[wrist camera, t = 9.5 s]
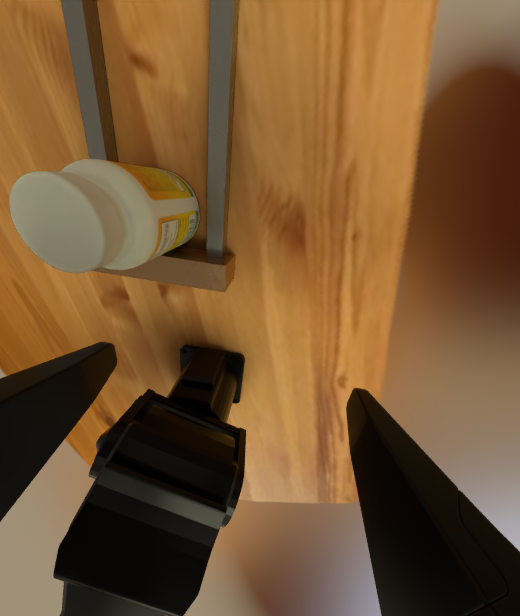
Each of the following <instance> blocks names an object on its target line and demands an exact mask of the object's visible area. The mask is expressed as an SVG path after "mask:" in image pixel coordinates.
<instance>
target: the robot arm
mask: <svg viewBox="0 0 520 616" xmlns="http://www.w3.org/2000/svg"><path fill="white" fill-rule="evenodd" d="M184 349H185V350H187V351H185V350H184ZM238 359H240V360H241V361H240V360H238ZM180 362H181V374H180V376H179V378H178V379H177V381H176V383H175V384H174V386H173V388H172V389H171V391H170V393H169V394H168V396H167V398H166V397H164V396H162V395H159V394H157V393H155V391H153V390H151V389H148V390H147V391H146V392H145V393H144V394H143V396H142V395H141V396H140V397H139V398H138V399H137V400H135V402H134V403H133V404H132V406H131V407H130V408H129V409H128V410H127V411H126V412H125V413H124V415H123V416H122V417H121V418H120V419H119V420H118V421H117V422H116V423H115V424H114V425H113V426H112V427H110V428H109V429H108V430H107V431H106V432H104V433H103V434H102V435H101V436H100V437H99V439H98V441H97V443H96V447H97V454H96V457H95V459H94V462H93V464H92V467H91V469H90V472H89V477H92V478H94V479H95V481H94V483H93V485H92V487H91V488H90V490H89V492H88V494H87V496H86V497H85V499H84V501H83V503H82V505H81V506H80V508H79V510H78V512H77V514H76V515H75V517H74V519H73V521H72V523H71V525H70V527H69V530H68V532H67V534H66V536H65V537H64V539H63V540H62V542H61V544H60V546H59V549H58V554H57V559H56V563H55V568H54V578H55V579H58V580H61V581H64V589H63V603H62V611H61V614H60V616H166V615H167V616H183V615H184V614H185V613H186V611H187V610H188V608H189V607H190V606H191V604H192V603H193V601H194V600H195V599H196V597H197V595H198V593H199V590H200V587H201V584H202V580H203V577H204V574H205V570H206V567H207V563H208V560H209V557H210V554H211V551H212V548H213V546H214V543H215V540H216V537H217V535H218V532H219V529H220V527H221V526H222V527H225V526H226V525H227V524H228V523H229V521H230V519H231V517H232V515H233V512H234V510H235V508H236V505H237V502H238V499H239V496H240V492H241V488H242V484H243V478H244V469H245V445H246V430H245V429H242V428H237V427H235V426H232V425H230V424H228V423H227V420H228V416H229V413H230V409H231V406H232V403H239V401H240V397H241V389H242V380H243V371H244V363H245V358H244V356H243V355H240V354H234V353H229V352H223V351H217V350H212V349H206V348H200V347H195V346H189V345H183V346H182V347H181V349H180ZM116 365H117V356H116V351H115V347H114V345H113V344H112V343H107V342H99V343H96V344H94V345H91V346H88V347H86V348H83V349H80V350H77V351H75V352H72V353H69V354H66V355H64V356H61V357H58V358H55V359H53V360H50V361H47V362H44V363H42V364H39V365H36V366H33V367H31V368H28V369H25V370H22V371H20V372H17V373H14V374H11V375H9V376H6V377H3V378H1V379H0V521H1V520H2V519H3V517H4V516H5V515H6V513H7V512H8V511H9V510H10V508H11V507H12V506H13V505H14V503H15V502H16V501H17V499H18V498H19V497H20V496H21V494H22V493H23V492H24V490H25V489H26V488H27V487H28V485H29V484H30V483H31V481H32V480H33V479H34V478H35V476H36V475H37V474H38V472H39V471H40V470H41V469H42V467H43V466H44V465H45V463H46V462H47V461H48V460H49V458H50V457H51V455H52V454H53V453H54V452H55V450H56V449H57V448H58V447H59V445H60V444H61V443H62V442H63V440H64V439H65V438H66V436H67V435H68V434H69V433H70V431H71V430H72V429H73V427H74V426H75V425H76V424H77V422H78V421H79V420H80V418H81V417H82V416H83V415H84V413H85V412H86V411H87V409H88V408H89V407H90V405H91V404H92V403H93V401H94V400H95V398H96V397H97V395H98V394H99V392H100V391H101V389H102V388H103V386H104V384H105V383H106V381H107V380H108V378H109V377H110V375H111V373H112V372H113V370H114V369H115V367H116ZM346 411H347V423H348V435H349V446H350V455H351V461H352V466H353V471H354V476H355V481H356V486H357V491H358V497H359V502H360V507H361V512H362V517H363V522H364V527H365V533H366V537H367V543H368V548H369V553H370V558H371V563H372V568H373V574H374V578H375V584H376V589H377V594H378V599H379V604H380V609H381V614H382V616H520V552H519V551H518V549H517V548H515V547H514V545H513V544H512V543H511V542H510V541H508V539H507V538H505V537H504V536H503V535H502V534H501V533H500V532H499V531H498V530H497V529H496V527H495V526H493V524H492V523H491V522H490V521H489V520H488V519H487V518H486V517H485V516H484V515H483V514H482V513H481V512H480V511H479V510H478V509H477V508H476V507H475V506H474V504H473V503H472V502H470V500H469V499H468V498H467V497H466V496H465V495H464V494H463V493H462V492H461V491H459V490H458V488H457V486H456V485H455V484H454V483H453V482H452V481H451V480H450V479H449V478H448V477H447V476H446V475H445V474H444V472H443V471H442V470H441V469H440V468H439V467H438V466H437V465H436V464H435V463H434V462H433V461H432V460H431V458H430V457H429V456H428V455H427V454H426V453H425V452H424V451H423V450H422V449H421V448H420V447H419V446H418V444H416V442H415V441H414V440H413V439H412V438H411V437H410V436H409V435H408V434H407V433H406V432H405V431H404V430H403V428H402V427H401V426H400V425H399V424H398V423H397V422H396V421H395V420H394V419H393V418H392V417H391V415H390V414H389V413H388V412H387V411H386V410H385V409H384V408H383V407H382V406H381V405H380V404H379V403H378V402H377V400H376V399H375V398H374V397H373V396H372V395H371V394H370V393H369V392H368V391H367V390H365V389H360V388H354V389H353V391H352V393H351V395H350V398H349V400H348V402H347V407H346Z"/></svg>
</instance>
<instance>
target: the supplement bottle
mask: <svg viewBox="0 0 520 616" xmlns="http://www.w3.org/2000/svg"><path fill="white" fill-rule="evenodd" d="M9 204H10V213H11V216H12V220H13V223H14V225H15V227H16V230H17V231H18V233H19V235H20V237H21V238H22V240H23V241H24V242H25V244H26V245H27V246H28V247H29V248H30V250H31V251H32V252H33V253H34V254H36V255H37V256H38V257H39V258H40V259H42V260H43V261H44V262H46V263H47V264H49V265H51V266H52V267H54V268H56V269H59V270H61V271H65V272H69V273H84V272H88V271H91V270H94V269H96V268H99V267H104V268H108V269H113V270H126V269H131V268H134V267H137V266H139V265H141V264H144V263H146V262H148V261H150V260H152V259H154V258H156V257H158V256H160V255H162V254H164V253H166V252H168V251H170V250H172V249H174V248H176V247H178V246H180V245H182V244H184V243H186V242H187V241H188V240H190V239H191V238H192V237H193V235H194V234H195V232H196V230H197V228H198V225H199V221H200V209H199V204H198V200H197V198H196V196H195V194H194V192H193V190H192V189H191V187H190V186H189V185H188V184H187V183H186V182H185V181H184V180H183V179H182V178H181V177H179V176H178V175H176V174H174V173H172V172H170V171H167V170H163V169H159V168H151V167H144V166H138V165H132V164H125V163H119V162H113V161H107V160H100V159H82V160H78V161H75V162H72V163H70V164H69V165H67V166H66V167H64V168H63V169H62V170H61V171H56V172H54V171H35V172H30V173H27V174H25V175H23V176H21V177H20V178H19V179H18V180H17V181H16V182H15V184H14V185H13V187H12V189H11V192H10V201H9Z"/></svg>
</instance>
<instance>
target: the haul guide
mask: <svg viewBox="0 0 520 616" xmlns="http://www.w3.org/2000/svg"><path fill="white" fill-rule="evenodd" d="M61 4H62V9H63V15H64V20H65V26H66V31H67V37H68V42H69V48H70V53H71V59H72V64H73V70H74V75H75V81H76V86H77V91H78V97H79V102H80V108H81V113H82V119H83V124H84V130H85V135H86V141H87V146H88V152H89V157H90V159H100V160H107V161H113V162H118V157H117V150H116V142H115V135H114V128H113V120H112V113H111V106H110V98H109V91H108V84H107V76H106V69H105V62H104V54H103V47H102V40H101V32H100V25H99V18H98V10H97V3H96V0H61ZM238 15H239V0H210V50H209V117H208V184H207V250H200V249H193V248H187V247H180V246H178V247H176V248H174V249H172V250H170V251H168V252H166V253H164V254H162V255H160V256H158V257H156V258H154V259H152V260H150V261H148V262H146V263H144V264H141V265H139V266H137V267H134V268H131V269H126V270H113V269H108V268H104V267H99V268H96V269H94V270H92V271H98V272H104V273H110V274H116V275H122V276H128V277H134V278H140V279H146V280H153V281H159V282H165V283H171V284H177V285H183V286H189V287H195V288H201V289H207V290H214V291H220V292H225V291H226V289H227V288H228V286H229V285H230V283H231V282H232V280H233V279H234V268H235V255H232V254H226V239H227V221H228V202H229V183H230V164H231V146H232V127H233V108H234V90H235V71H236V52H237V33H238Z"/></svg>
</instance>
